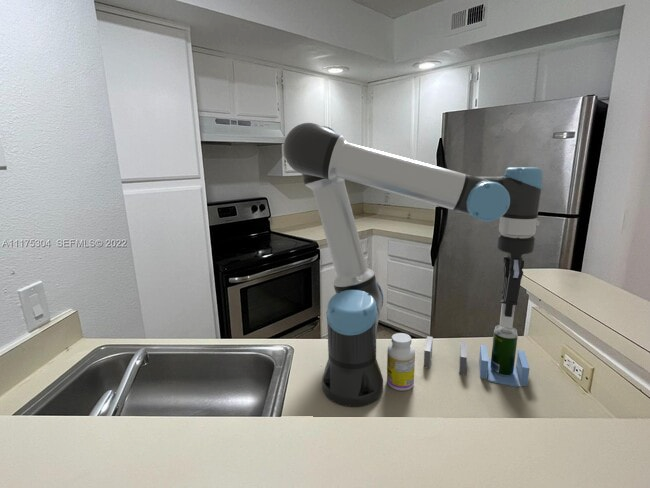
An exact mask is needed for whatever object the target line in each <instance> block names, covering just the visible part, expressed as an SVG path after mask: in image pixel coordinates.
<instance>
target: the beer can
mask: <svg viewBox="0 0 650 488" xmlns="http://www.w3.org/2000/svg"><path fill="white" fill-rule="evenodd" d="M518 335H519V334H518V330H517V329H516V328H515V327H514V326H512V328H506V327H500V324H498V325H495V327H494V329H493V335H492V336H493V338H492V346H491V357H490V359H491V366H490V367H491V370H492V372H493V373H495V374H496V375H499V376H502V377H509V376H511V375H512V374H513V371H514V365H515V364H516V363H515V361H516V353H517V344H518Z"/></svg>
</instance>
